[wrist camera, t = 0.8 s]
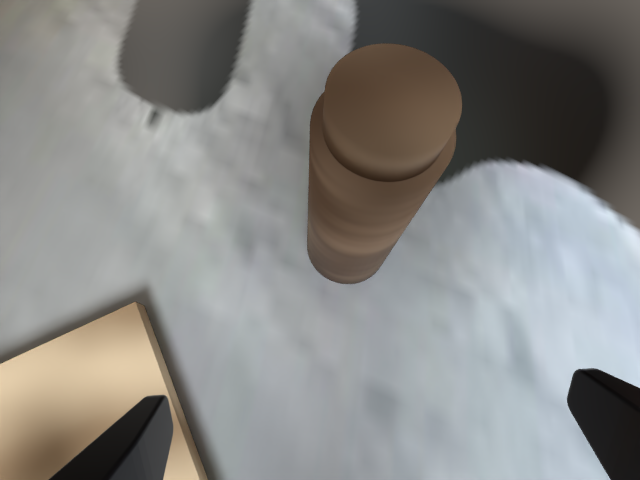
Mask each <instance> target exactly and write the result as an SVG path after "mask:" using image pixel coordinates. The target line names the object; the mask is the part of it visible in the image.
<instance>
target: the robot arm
mask: <svg viewBox="0 0 640 480" xmlns="http://www.w3.org/2000/svg"><path fill="white" fill-rule="evenodd" d="M567 403H568V407H569V409H570V411H571V413H572V415H573V416H574V418H575V420H576V421H577V423H578V425H579V427H580V428H581V430H582V432H583V434H584V435H585V437H586V439H587V440H588V442H589V444H590V446H591V447H592V449H593V451H594V452H595V454H596V456H597V458H598V459H599V461H600V463H601V464H602V466H603V468H604V469H605V471H606V473H607V474H608V476H609V478H610V479H611V480H640V388H638V387H636V386H634V385H632V384H629V383H627V382H625V381H623V380H621V379H618V378H616V377H614V376H612V375H610V374H607V373H605V372H603V371H601V370H598V369H594V368H589V369H578V370H576V371H575V372H574V374H573V377H572V381H571V385H570V388H569V392H568V396H567ZM172 437H173V420H172V415H171V410H170V405H169V400H168V398H167V396H165V395H150V396H146V397H144V398H143V399H142V400H141V401H139V402H138V403H137V404H136V405H135V406H134V407H132V408H131V409H130V410H129V411H128V412H127V413H125V414H124V415H123V416H122V417H121V418H120V419H118V420H117V421H116V422H115V423H114V424H113V425H111V426H110V427H109V428H108V429H107V430H105V431H104V432H103V433H102V434H101V435H100V436H98V437H97V438H96V439H95V440H94V441H93V442H91V443H90V444H89V445H88V446H87V447H86V448H84V449H83V450H82V451H81V452H80V453H79V454H77V455H76V456H75V457H74V458H73V459H72V460H70V461H69V462H68V463H67V464H66V465H65V466H63V467H62V468H61V469H60V470H59V471H58V472H56V473H55V474H54V475H53V476H52V477H51V478H49V479H48V480H163V478H164V473H165V469H166V464H167V460H168V455H169V451H170V446H171V442H172Z"/></svg>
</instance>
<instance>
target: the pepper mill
mask: <svg viewBox="0 0 640 480" xmlns="http://www.w3.org/2000/svg"><path fill="white" fill-rule="evenodd" d="M461 111H462V98H461V93H460V90H459V88H458V85H457V83H456V81H455V79H454V77H453V76H452V75H451V73H450V72H449V71H448V70H447V69H446V68H445V66H443V65H442V64H441V63H440V62H439V61H437V60H436V59H434V58H433V57H432V56H430V55H428V54H426V53H425V52H423V51H420V50H418V49H415V48H412V47H409V46H404V45H398V44H374V45H369V46H365V47H362V48H359V49H356V50H354V51H352V52H350V53H349V54H347V55H345V56H344V57H343V58H342V59H340V60H339V61H338V62H337V64H336V65H335V66H334V67H333V69H332V70H331V72H330V74H329V76H328V78H327V81H326V85H325V91H324V93H323V94H322V95H321V96H320V98H319V99H318V100H317V102H316V104H315V106H314V108H313V112H312V115H311V121H310V150H309V192H308V235H307V250H308V255H309V258H310V260H311V263H312V264H313V266H314V267H315V269H316V270H317V271H318V272H319V273H320V274H321V275H323V276H324V277H325V278H327V279H329V280H331V281H334V282H337V283H341V284H354V283H359V282H362V281H364V280H366V279H368V278H370V277H371V276H372V275H374V274H375V273H376V272H377V271H378V269H379V268H380V266H381V265H382V263H383V262H384V260H385V259H386V257H387V256H388V254H389V253H390V251H391V250H392V248H393V247H394V245H395V244H396V242H397V241H398V239H399V238H400V236H401V235H402V233H403V232H404V230H405V229H406V227H407V226H408V224H409V223H410V221H411V220H412V218H413V217H414V215H415V214H416V212H417V211H418V209H419V208H420V206H421V205H422V203H423V202H424V200H425V199H426V197H427V196H428V194H429V193H430V191H431V190H432V188H433V187H434V185H435V184H436V182H437V181H438V179H439V178H440V176H441V175H442V173H443V172H444V170H445V169H446V167H447V166H448V164H449V163H450V160H451V159H452V157H453V153H454V150H455V145H456V129H455V128H456V126H457V124H458V122H459V119H460V116H461Z"/></svg>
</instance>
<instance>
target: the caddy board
mask: <svg viewBox="0 0 640 480" xmlns="http://www.w3.org/2000/svg"><path fill="white" fill-rule="evenodd" d="M150 395H165V396H167V398H168V400H169V405H170V410H171V415H172V420H173V437H172V442H171V446H170V451H169V455H168V460H167V464H166V469H165V473H164V478H163V480H208V478H207V476H206V473H205V470H204V467H203V465H202V462H201V459H200V457H199V454H198V451H197V448H196V446H195V443H194V440H193V437H192V435H191V432H190V429H189V427H188V424H187V421H186V418H185V416H184V413H183V410H182V407H181V405H180V402H179V399H178V397H177V394H176V391H175V388H174V386H173V383H172V380H171V377H170V375H169V372H168V369H167V367H166V364H165V361H164V358H163V356H162V353H161V350H160V347H159V345H158V342H157V339H156V337H155V334H154V331H153V328H152V326H151V323H150V320H149V317H148V315H147V312H146V309H145V307H144V305H141V304H139V303H137V302H134V303H131V304H129V305H127V306H125V307H123V308H121V309H118V310H116V311H114V312H112V313H110V314H107V315H105V316H103V317H101V318H99V319H97V320H94V321H92V322H90V323H88V324H86V325H84V326H81V327H79V328H77V329H75V330H73V331H71V332H68V333H66V334H64V335H62V336H60V337H58V338H55V339H53V340H51V341H49V342H47V343H45V344H42V345H40V346H38V347H36V348H34V349H32V350H29V351H27V352H25V353H23V354H21V355H19V356H16V357H14V358H12V359H10V360H8V361H6V362H3V363H1V364H0V480H48V479H49V478H51V477H52V476H53V475H54V474H55V473H56V472H58V471H59V470H60V469H61V468H62V467H63V466H65V465H66V464H67V463H68V462H69V461H70V460H72V459H73V458H74V457H75V456H76V455H77V454H79V453H80V452H81V451H82V450H83V449H84V448H86V447H87V446H88V445H89V444H90V443H91V442H93V441H94V440H95V439H96V438H97V437H98V436H100V435H101V434H102V433H103V432H104V431H105V430H107V429H108V428H109V427H110V426H111V425H113V424H114V423H115V422H116V421H117V420H118V419H120V418H121V417H122V416H123V415H124V414H125V413H127V412H128V411H129V410H130V409H131V408H132V407H134V406H135V405H136V404H137V403H138V402H139V401H141V400H142V399H143V398H144V397H146V396H150Z"/></svg>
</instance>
